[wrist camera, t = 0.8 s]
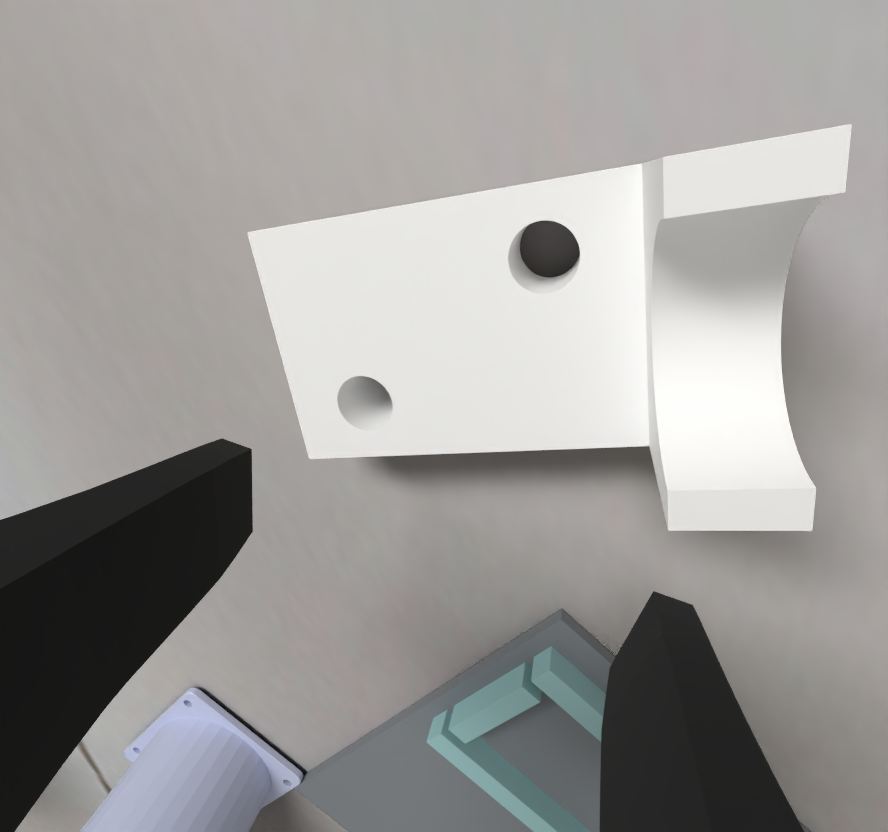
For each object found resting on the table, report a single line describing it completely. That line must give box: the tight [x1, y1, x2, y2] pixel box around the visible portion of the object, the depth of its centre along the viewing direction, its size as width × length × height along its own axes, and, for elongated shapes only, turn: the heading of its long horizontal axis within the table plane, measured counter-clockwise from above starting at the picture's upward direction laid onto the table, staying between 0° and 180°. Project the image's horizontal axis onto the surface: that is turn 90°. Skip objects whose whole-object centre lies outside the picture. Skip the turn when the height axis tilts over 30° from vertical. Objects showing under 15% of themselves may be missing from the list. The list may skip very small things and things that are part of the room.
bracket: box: [247, 124, 852, 531], centre depth 15 cm, size 13×7×8 cm, turn 100°
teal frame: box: [427, 646, 606, 832], centre depth 24 cm, size 8×12×1 cm, turn 50°
